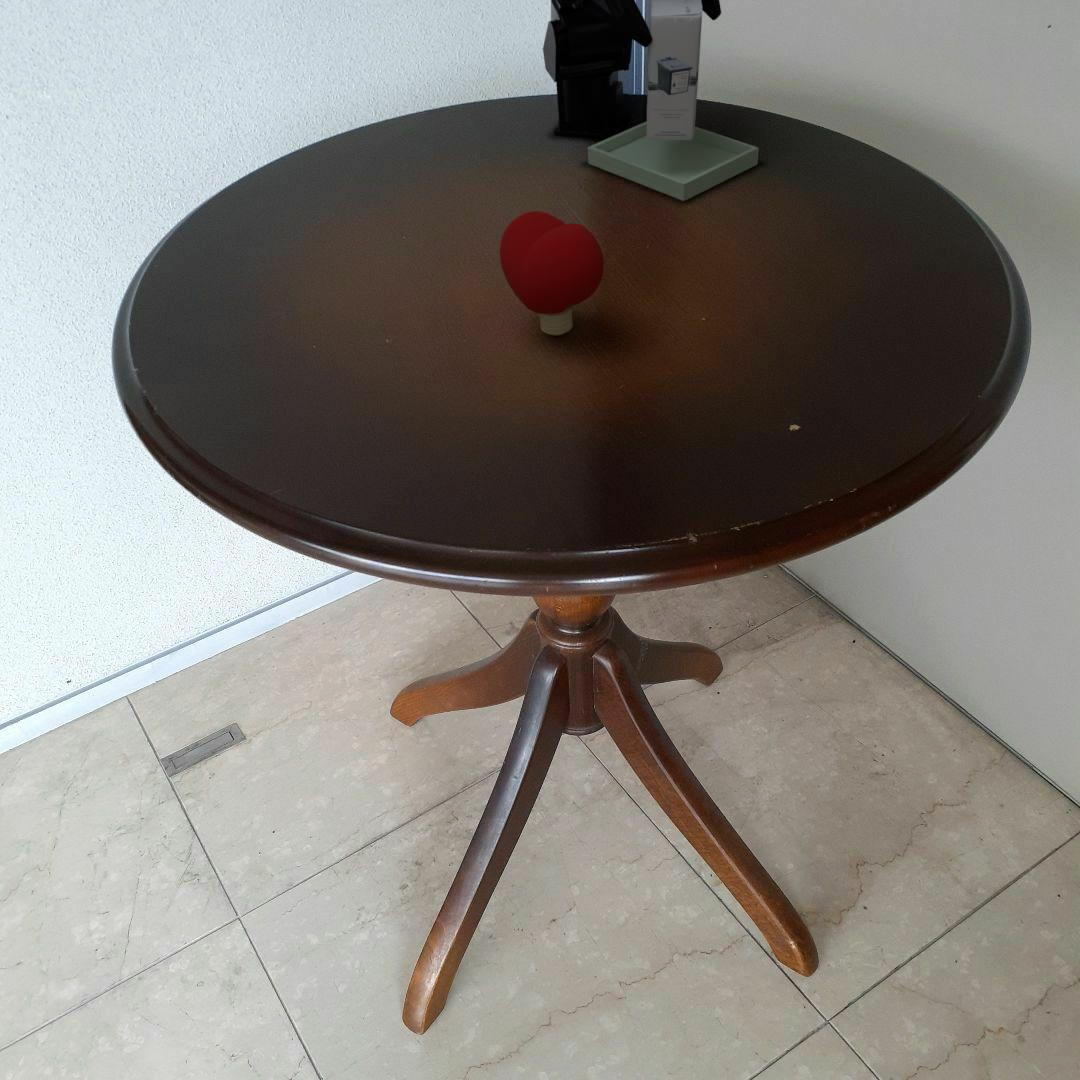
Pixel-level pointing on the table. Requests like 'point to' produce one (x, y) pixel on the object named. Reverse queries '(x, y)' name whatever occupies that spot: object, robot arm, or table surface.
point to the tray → (673, 160)
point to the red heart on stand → (550, 267)
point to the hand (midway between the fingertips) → (683, 30)
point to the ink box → (673, 68)
